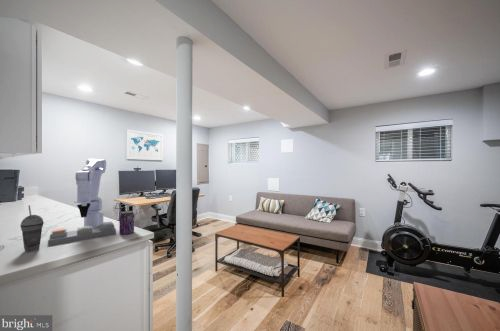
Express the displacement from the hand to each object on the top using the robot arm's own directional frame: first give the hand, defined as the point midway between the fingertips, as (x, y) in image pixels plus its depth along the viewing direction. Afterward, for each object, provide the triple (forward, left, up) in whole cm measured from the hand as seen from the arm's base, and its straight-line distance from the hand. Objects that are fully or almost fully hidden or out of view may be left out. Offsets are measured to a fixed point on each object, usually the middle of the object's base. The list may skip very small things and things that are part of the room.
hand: (83, 217), depth 113 cm
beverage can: (-6, +22, -10) cm, 25 cm away
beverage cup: (+22, -2, -10) cm, 24 cm away
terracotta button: (+11, -2, -6) cm, 12 cm away
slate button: (-5, +10, -6) cm, 13 cm away
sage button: (+3, +4, -7) cm, 8 cm away
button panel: (+3, +4, -9) cm, 11 cm away
